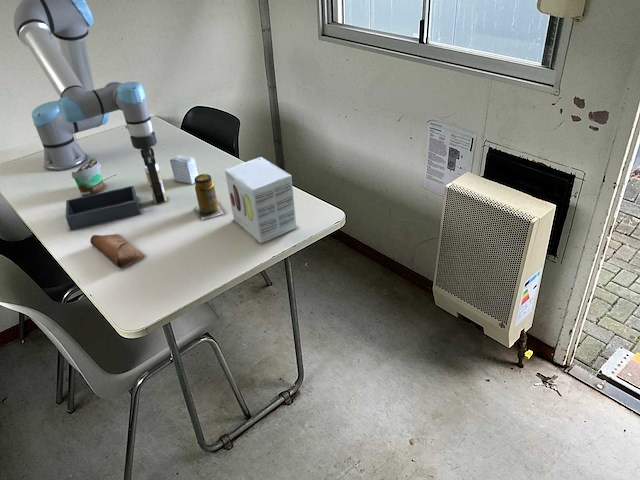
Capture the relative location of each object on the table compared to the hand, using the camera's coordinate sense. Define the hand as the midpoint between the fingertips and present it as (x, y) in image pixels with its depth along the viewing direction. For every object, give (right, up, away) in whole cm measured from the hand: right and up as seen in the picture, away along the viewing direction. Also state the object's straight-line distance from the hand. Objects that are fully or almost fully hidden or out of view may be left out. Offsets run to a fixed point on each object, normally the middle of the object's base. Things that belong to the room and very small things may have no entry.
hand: (159, 195), depth 173 cm
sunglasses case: (-5, -19, -23) cm, 30 cm away
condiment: (+19, -6, -7) cm, 21 cm away
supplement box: (+38, -10, -15) cm, 42 cm away
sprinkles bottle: (0, -2, +1) cm, 2 cm away
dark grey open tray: (-17, -6, -4) cm, 18 cm away
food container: (-25, +3, +10) cm, 28 cm away
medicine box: (+6, +7, +13) cm, 16 cm away
